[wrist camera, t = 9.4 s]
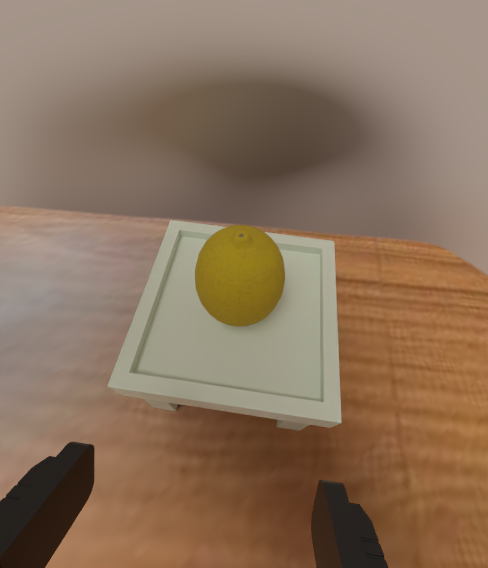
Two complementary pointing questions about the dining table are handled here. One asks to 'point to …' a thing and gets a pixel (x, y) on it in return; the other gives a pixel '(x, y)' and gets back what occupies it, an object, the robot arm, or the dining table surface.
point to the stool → (236, 339)
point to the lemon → (239, 275)
